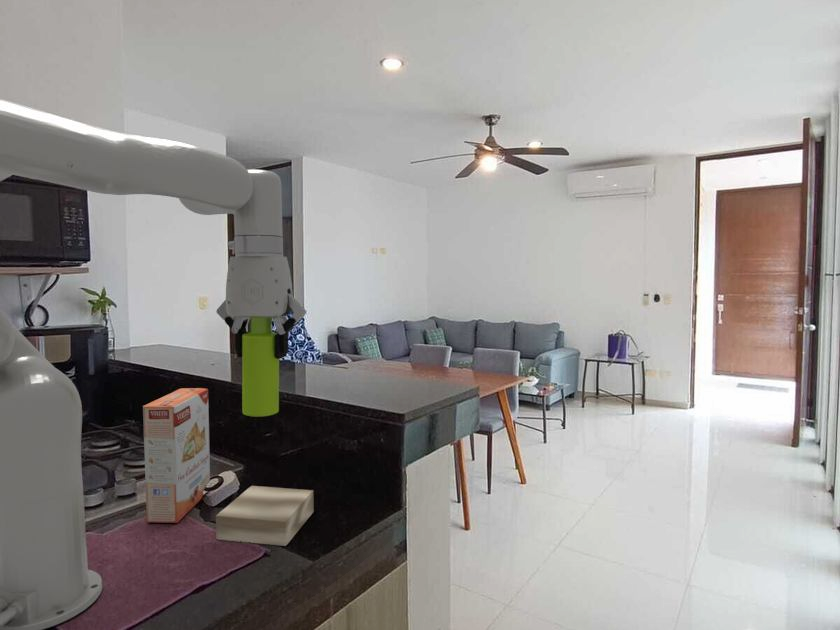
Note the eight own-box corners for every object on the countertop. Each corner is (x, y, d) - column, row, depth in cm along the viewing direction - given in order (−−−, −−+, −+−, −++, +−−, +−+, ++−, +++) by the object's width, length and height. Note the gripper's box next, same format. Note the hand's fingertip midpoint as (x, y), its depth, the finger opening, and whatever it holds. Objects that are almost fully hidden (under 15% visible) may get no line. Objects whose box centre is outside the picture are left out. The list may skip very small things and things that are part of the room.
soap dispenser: (289, 413, 88) (290, 294, 87) (247, 418, 85) (247, 294, 83) (278, 404, 93) (279, 291, 92) (238, 409, 90) (238, 291, 88)
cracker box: (180, 524, 91) (174, 405, 89) (145, 524, 91) (139, 405, 89) (213, 490, 105) (209, 386, 103) (183, 490, 105) (178, 386, 103)
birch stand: (285, 545, 84) (285, 521, 84) (216, 539, 86) (215, 515, 86) (313, 511, 96) (313, 490, 95) (252, 506, 98) (251, 485, 98)
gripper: (197, 247, 84) (202, 359, 86) (300, 246, 81) (302, 362, 83) (223, 249, 92) (226, 352, 93) (317, 248, 89) (319, 354, 90)
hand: (262, 355), depth 88 cm, fingers closed on soap dispenser, 6 cm apart
